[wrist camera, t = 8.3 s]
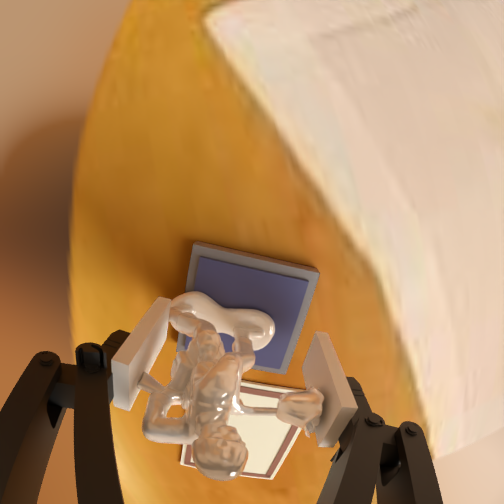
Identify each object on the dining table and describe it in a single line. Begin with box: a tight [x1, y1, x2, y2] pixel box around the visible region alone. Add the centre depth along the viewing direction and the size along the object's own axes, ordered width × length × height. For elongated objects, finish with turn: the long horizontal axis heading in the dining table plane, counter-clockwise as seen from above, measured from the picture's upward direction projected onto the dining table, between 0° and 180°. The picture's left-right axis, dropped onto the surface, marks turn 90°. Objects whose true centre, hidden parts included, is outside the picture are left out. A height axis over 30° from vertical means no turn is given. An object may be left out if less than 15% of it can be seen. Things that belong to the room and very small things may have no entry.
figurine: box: [137, 291, 324, 481], centre depth 13 cm, size 5×9×12 cm, turn 86°
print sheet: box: [180, 380, 304, 479], centre depth 23 cm, size 14×10×1 cm
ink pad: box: [176, 241, 320, 374], centre depth 20 cm, size 8×8×1 cm
